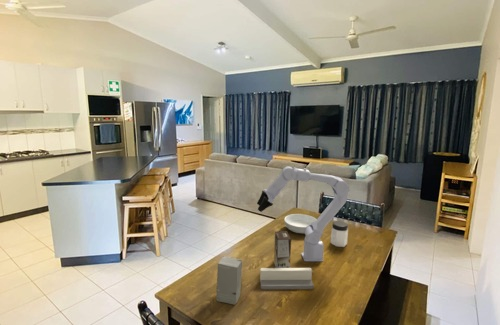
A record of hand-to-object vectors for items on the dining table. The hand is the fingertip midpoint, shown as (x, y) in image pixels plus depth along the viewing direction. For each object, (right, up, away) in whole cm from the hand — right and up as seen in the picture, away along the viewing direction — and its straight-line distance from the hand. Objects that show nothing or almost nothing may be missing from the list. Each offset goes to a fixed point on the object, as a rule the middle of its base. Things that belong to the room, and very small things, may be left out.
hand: (258, 207), depth 133 cm
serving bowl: (+28, -21, +36) cm, 50 cm away
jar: (+46, -24, +19) cm, 55 cm away
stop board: (+11, -30, -18) cm, 37 cm away
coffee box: (+11, -28, -5) cm, 30 cm away
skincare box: (-13, -31, -27) cm, 43 cm away
